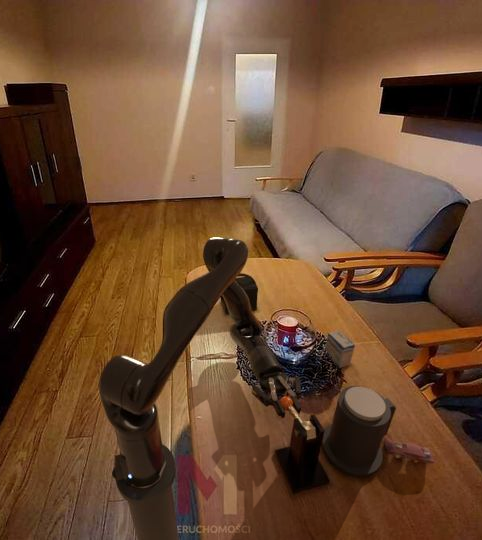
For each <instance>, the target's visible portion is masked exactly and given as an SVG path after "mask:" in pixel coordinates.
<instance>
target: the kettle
mask: <svg viewBox="0 0 482 540" xmlns="http://www.w3.org/2000/svg"><path fill="white" fill-rule="evenodd" d="M396 410H397V407H396V405H395V404H394V403H393V402H392V401H391V399H390V398H389V397H387V398H384V397H383V396H382V395H381V394H380V393H378V392H377V391H376V390H373V389H371V388H369V387H366V386H361V385H351V386H347V387H344V388H343V389H342V390H341V391H340V392H339V394H338V398H337V401H336V405H335V410H334V413H333V418H332V423H330V424H329V425H328V426H326V428H325V429H324V431H325V432H324V436H323V441H322V445H321V450H322V453H323V455H324V457H325V458H326V460H327V461H328V462H329V464H330V465H331V466H332V467H333V468H334V469H335V470H337V471H338V472H340V473H341V474H343V475H346V476H348V477H350V478H353V479H354V478H355V479H367V478H371V477H373V476H374V475H376V474H377V473H378V472H379V471H380V468H381V466H382V463H383V459H384V454H383V449H382V446H381V445H382V442H383V440H384V438H385V436H387V434H388V432H389V429H390V426H391V423H392V421H393V419H394V415H395V412H396Z"/></svg>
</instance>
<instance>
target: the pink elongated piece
mask: <svg viewBox="0 0 482 540" xmlns="http://www.w3.org/2000/svg"><path fill="white" fill-rule="evenodd" d="M384 446H385V449H386V450H387V451H388V452H389V453H388V454H390V455H393V456H394V458H396V459H407V456H409V460H410V461H412V462H413V463H426V464H434V463H435V458H434V457H435V456H434V453H433V451H431V450H430V449H429V448H428V447H427V446H419V445H418V444H415V443H413V442H400V441H393V440H391V438H389V437H387V438H386V439H385V441H384Z"/></svg>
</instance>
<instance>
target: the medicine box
mask: <svg viewBox="0 0 482 540" xmlns="http://www.w3.org/2000/svg"><path fill="white" fill-rule="evenodd" d="M355 347H356V345H355V344H354V343H353V342H352V341H351V340H350V339H349V338H348V337H347V336H346V335H344V333H342V332H341V331H340V330H339V329H338V330H333V331H331V332H328V333H327V336H326V341H325V345H324V350H326V351H327V353H328V354H329V355H330V356H331V357H332V358H333V359H332V358H331V357H330V356H329V355H328V354H327V353H326V352H325V353H326V354H325V353H324V354H325V355H326V357H328V359H330V360H331V362H332V363H333V364H335V366H336V367H337V368H338V369H341V368H345V367H348V366H351V363H352V359H353V355H354V352H355Z"/></svg>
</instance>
